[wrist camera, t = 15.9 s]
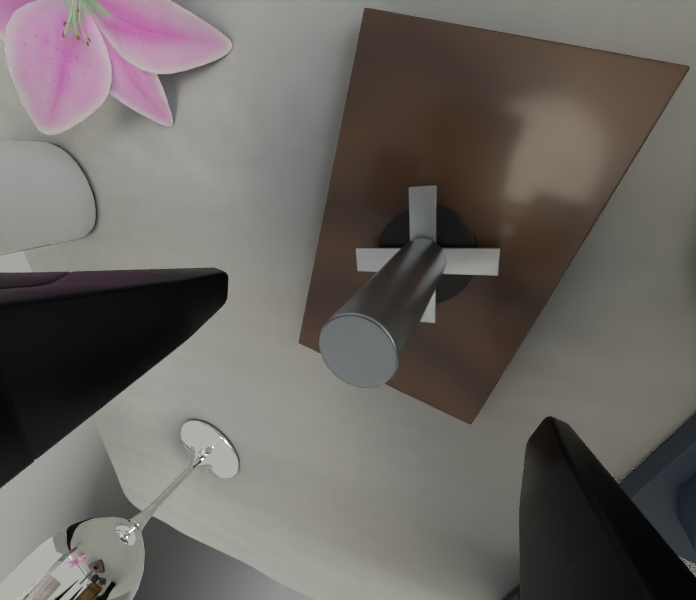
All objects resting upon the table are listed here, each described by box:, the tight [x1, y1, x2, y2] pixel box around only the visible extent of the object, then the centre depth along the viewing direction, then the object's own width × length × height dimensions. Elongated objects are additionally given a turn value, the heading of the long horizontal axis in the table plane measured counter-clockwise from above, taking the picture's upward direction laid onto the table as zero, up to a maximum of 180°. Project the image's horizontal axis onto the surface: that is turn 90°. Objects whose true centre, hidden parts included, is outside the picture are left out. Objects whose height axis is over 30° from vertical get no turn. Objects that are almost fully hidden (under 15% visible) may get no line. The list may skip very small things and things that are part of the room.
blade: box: [319, 185, 500, 388], centre depth 13 cm, size 7×7×10 cm
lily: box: [0, 0, 233, 135], centre depth 16 cm, size 12×12×10 cm
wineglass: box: [0, 420, 239, 600], centre depth 26 cm, size 8×8×20 cm
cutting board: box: [299, 8, 690, 425], centre depth 17 cm, size 18×12×1 cm, turn 166°
